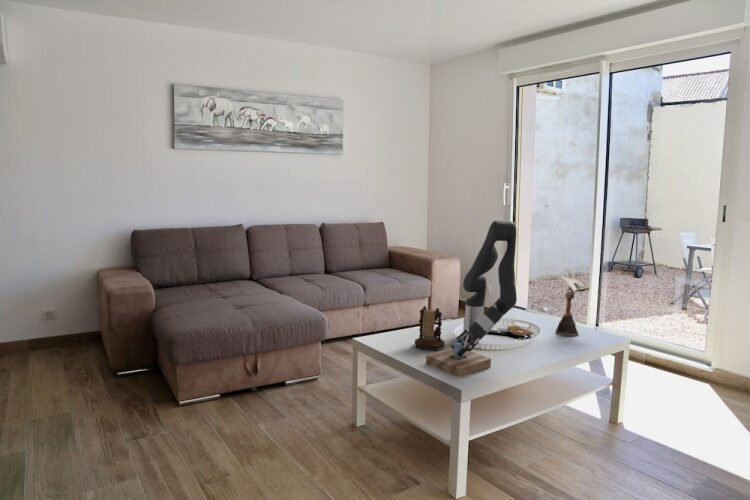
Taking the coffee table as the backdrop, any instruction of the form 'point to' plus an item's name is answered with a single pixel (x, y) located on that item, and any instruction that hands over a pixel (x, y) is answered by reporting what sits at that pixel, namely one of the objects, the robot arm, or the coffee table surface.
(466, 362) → the socket block
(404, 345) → the coffee table surface
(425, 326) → the scroll
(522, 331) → the decorative rock
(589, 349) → the coffee table surface
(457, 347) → the peg
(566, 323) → the bird statue
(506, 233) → the robot arm
